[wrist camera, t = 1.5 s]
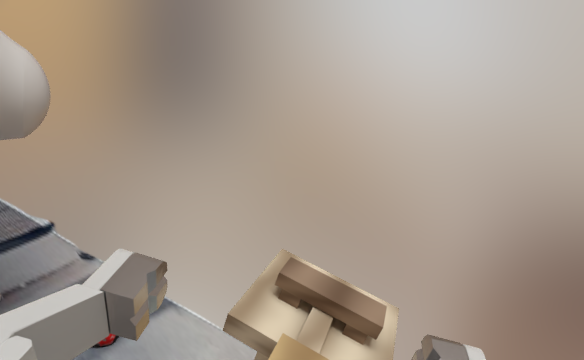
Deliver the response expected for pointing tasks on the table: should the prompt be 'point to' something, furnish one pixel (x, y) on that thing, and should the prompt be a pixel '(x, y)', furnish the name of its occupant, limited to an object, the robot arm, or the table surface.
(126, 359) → the table surface
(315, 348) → the tan wooden bar
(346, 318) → the stand
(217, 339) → the table surface
